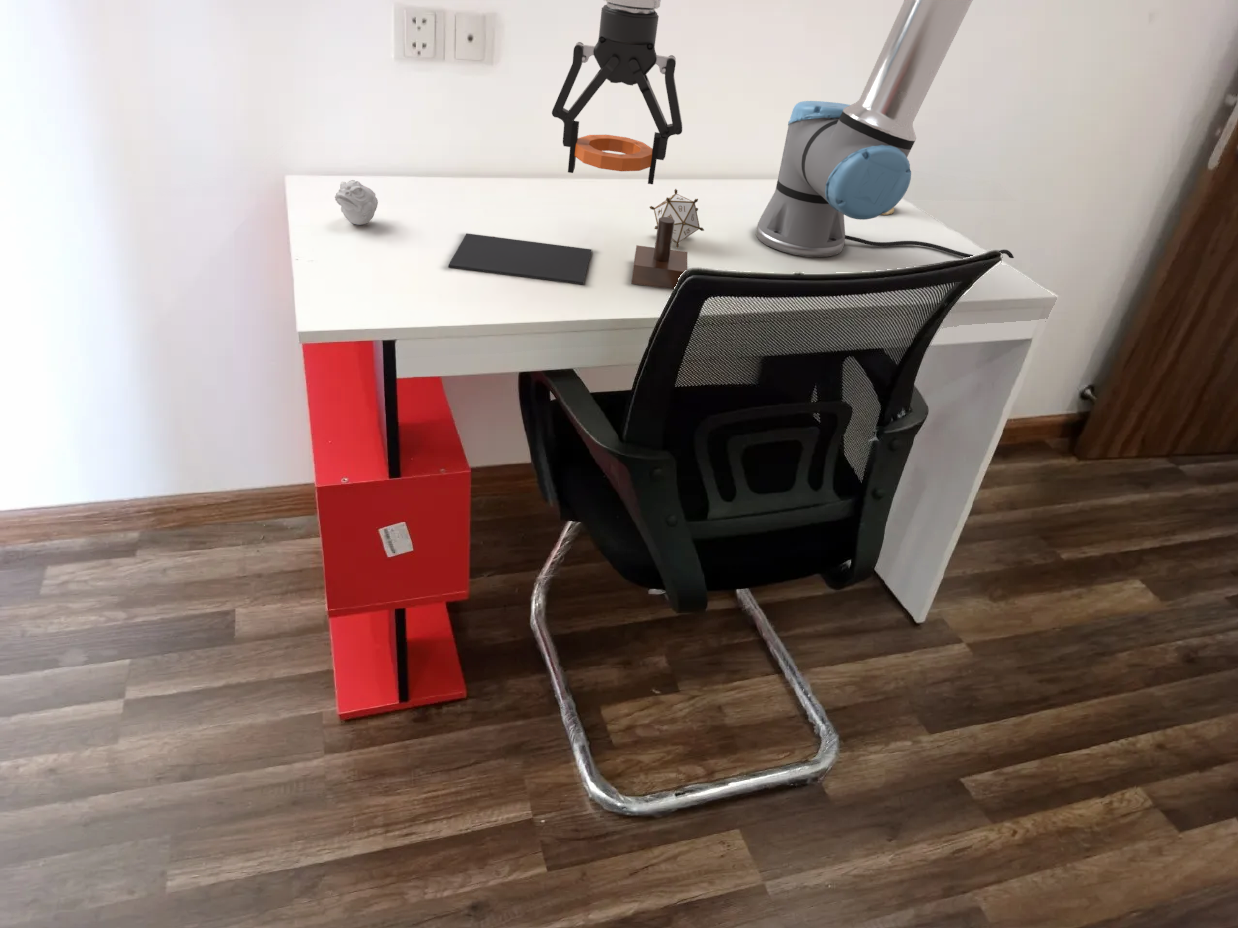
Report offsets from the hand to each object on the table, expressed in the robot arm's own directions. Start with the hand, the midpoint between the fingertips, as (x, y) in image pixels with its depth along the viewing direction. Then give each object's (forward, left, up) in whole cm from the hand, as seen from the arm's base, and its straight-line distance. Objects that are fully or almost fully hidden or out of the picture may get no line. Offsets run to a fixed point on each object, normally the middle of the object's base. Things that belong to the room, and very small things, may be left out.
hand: (611, 175), depth 130 cm
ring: (0, 0, +2) cm, 2 cm away
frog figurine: (+39, -6, -15) cm, 42 cm away
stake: (-9, 0, -14) cm, 17 cm away
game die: (-11, -16, -15) cm, 24 cm away
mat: (+12, 0, -14) cm, 19 cm away
